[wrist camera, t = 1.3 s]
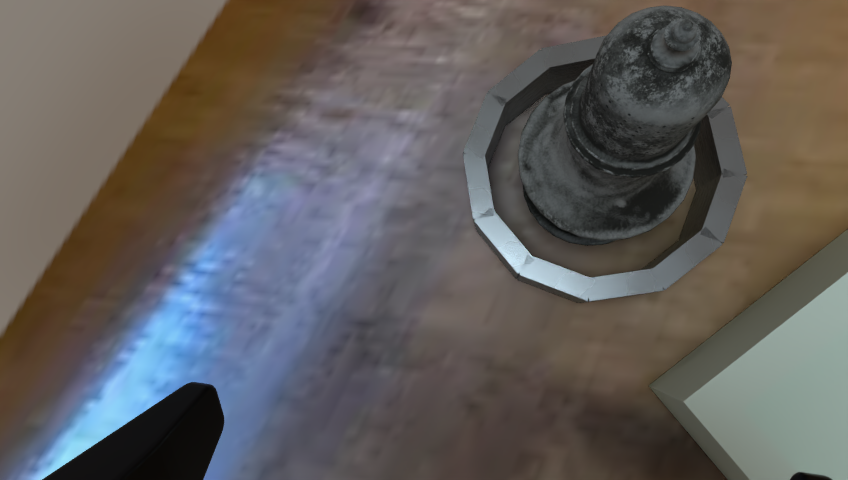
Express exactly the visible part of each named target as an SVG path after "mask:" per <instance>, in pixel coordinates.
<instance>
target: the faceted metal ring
mask: <svg viewBox="0 0 848 480" xmlns="http://www.w3.org/2000/svg"><path fill="white" fill-rule="evenodd" d="M605 37H606V36H602V37H597V38H592V39H587V40H582V41H577V42H572V43H567V44H562V45H557V46H552V47H547V48H542V50H538V51H537V52H536V53H535V54H534V55H532V56H531V57H530V58H529V59H527V60H526V61H525V62H524V63H522V64H521V65H520V66H519V67H517V68H516V69H515V70H514V71H512V72H511V73H510V74H509V75H507V76H506V77H505V78H504V79H503V80H501V81H500V82H499V83H498V84H496V85H495V86H494V87H493V88H491V89H490V90H489V91H488V92H487V94H486V97H485V99H484V102H483V104H482V107H481V109H480V112H479V114H478V117H477V119H476V122H475V124H474V127H473V129H472V132H471V134H470V137H469V139H468V142H467V144H466V147H465V149H464V152H463V157H464V164H465V170H466V176H467V183H468V189H469V196H470V202H471V208H472V215H473V220H474V224H475V227H476V230H477V232H478V233H479V235H480V236H481V237H482V238H483V239H484V241H485V242H486V243H487V244H488V246H489V247H490V248H491V249H492V250H493V252H494V253H495V254H496V255H497V256H498V258H499V259H500V260H501V261H502V263H503V264H504V265H505V266H506V267H507V269H508V270H509V271H510V272H511V273H512V275H513V276H514V277H515V278H518V279H517V280H519V281H522V282H524V283H527V284H529V285H532V286H535V287H537V288H540V289H542V290H545V291H548V292H550V293H553V294H556V295H558V296H561V297H563V298H566V299H569V300H571V301H574V302H576V303H584V302H591V301H598V300H605V299H612V298H619V297H626V296H633V295H640V294H646V293H652V292H658V291H663V290H665V289H667V288H668V287H669V286H671V285H672V284H673V283H674V282H676V281H677V280H678V279H679V278H681V277H682V276H683V275H684V274H686V273H687V272H688V271H689V270H691V269H692V268H693V267H695V266H696V265H697V264H698V263H700V262H701V261H702V260H703V259H705V258H706V257H707V256H708V255H710V254H711V253H712V252H714V251H715V250H716V249H717V248H719V247H720V246H721V245H722V243H724V241H725V238H726V235H727V232H728V229H729V226H730V224H731V221H732V218H733V215H734V212H735V209H736V206H737V204H738V201H739V198H740V195H741V192H742V189H743V186H744V184H745V181H746V178H747V176H746V175H747V171H746V167H745V163H744V159H743V155H742V151H741V147H740V142H739V138H738V134H737V130H736V126H735V122H734V118H733V114H732V110H731V107H728V106H729V104H728V103H727V102H726V101H725V100H724V99H723V98H722V97H721V99H720V100H719V101H718V102H717V104H716V105H715V106H714V107H713V108H712V109H711V111H710V112H709V113H708V114H707V115H706V116H705V117H704V118H703V119H702V121H701V128H700V132H699V135H698V137H697V139H696V141H695V143H694V147H695V154H696V161H695V168H694V180H695V185H696V189H697V190H696V193H695V196H694V199H693V201H692V204H691V207H690V210H689V213H688V215H687V218H686V221H685V224H684V226H683V229H682V232H681V235H680V238H679V240H678V241H677V242H676V243H674V244H673V245H672V246H671V247H669V248H668V249H667V250H665V251H664V252H663V253H662V254H660V255H659V256H658V257H657V258H655V259H654V260H653V261H652V262H650V263H649V264H648V265H647V266H645V267H644V268H643V269H641V270H639V271H632V272H626V273H619V274H612V275H605V276H599V277H592V278H590V277H587V276H584V275H582V274H579V273H576V272H574V271H571V270H568V269H566V268H563V267H560V266H558V265H555V264H552V263H550V262H547V261H544V260H542V259H539V258H536V257H534V256H532V255H531V254H530V253H529V252H528V250H527V249H526V248H525V247H524V246H523V245H522V243H521V242H520V241H519V240H518V239H517V237H516V236H515V235H514V234H513V233H512V231H511V230H510V229H509V228H508V227H507V225H506V224H505V223H504V222H503V221H502V220H501V218H500V217H499V216H498V215H497V214H496V212H495V211H494V207H493V201H492V195H491V189H490V183H489V177H488V168H489V166H490V163H491V160H492V158H493V155H494V153H495V150H496V148H497V145H498V143H499V140H500V138H501V135H502V133H503V130H504V127H505V126H506V125H507V124H508V123H510V122H511V121H512V120H513V119H515V118H516V117H517V116H518V115H520V114H521V113H522V112H523V111H525V110H526V109H527V108H528V107H530V106H531V105H532V104H533V103H535V102H536V101H537V100H538V99H540V98H541V97H542V96H543V95H544V94H548V93H552V92H554V91H555V90H556V89H558V88H559V87H561V86H562V85H564V84H567V83H569V82H572V81H575V80H576V79H577V78H578V76H579V75H580V74H581V73H582V72H583V71H584V70H585V69H586V68H588V67H589V66H591V65H592V64H593V63H594V60H595V57H596V55H597V52H598V50H599V48H600V46H601V44H602V42H603V40H604V38H605Z"/></svg>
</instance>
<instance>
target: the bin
mask: <svg viewBox="0 0 848 480" xmlns="http://www.w3.org/2000/svg"><path fill="white" fill-rule="evenodd" d="M649 387H650V388H651V389H652V391H653V392H654V393H655V394H656V395H657V397H658V398H659V399H660V400H661V401H662V402H663V404H664V405H665V406H666V407H667V408H668V410H669V411H670V412H671V413H672V414H673V416H674V417H675V418H676V419H677V420H678V421H679V423H680V424H681V425H682V426H683V427H684V429H685V430H686V431H687V432H688V433H689V434H690V436H691V437H692V438H693V439H694V440H695V442H696V443H697V444H698V445H699V446H700V448H701V449H702V450H703V451H704V452H705V453H706V455H707V456H708V457H709V458H710V459H711V461H712V462H713V463H714V464H715V465H716V466H717V468H718V469H719V470H720V471H721V472H722V474H723V475H724V476H725V477H726V478H727V480H790V479H791V477H792V476H793V474H795V473H797V472H805V473H812V474H819V475H824V476H827V477H829V478H831V479H832V480H848V229H847V230H846V231H845V232H843V233H842V234H841V235H840V236H838V237H837V238H836V239H834V240H833V241H832V242H831V243H829V244H828V245H827V246H826V247H824V248H823V249H822V250H820V251H819V252H818V253H817V254H815V255H814V256H813V257H812V258H810V259H809V260H808V261H806V262H805V263H804V264H803V265H801V266H800V267H799V268H798V269H796V270H795V271H794V272H793V273H791V274H790V275H789V276H787V277H786V278H785V279H784V280H782V281H781V282H780V283H779V284H777V285H776V286H775V287H773V288H772V289H771V290H770V291H768V292H767V293H766V294H765V295H763V296H762V297H761V298H759V299H758V300H757V301H756V302H754V303H753V304H752V305H751V306H749V307H748V308H747V309H745V310H744V311H743V312H742V313H740V314H739V315H738V316H737V317H735V318H734V319H733V320H732V321H730V322H729V323H728V324H726V325H725V326H724V327H723V328H721V329H720V330H719V331H718V332H716V333H715V334H714V335H712V336H711V337H710V338H709V339H707V340H706V341H705V342H704V343H702V344H701V345H700V346H698V347H697V348H696V349H695V350H693V351H692V352H691V353H690V354H688V355H687V356H686V357H685V358H683V359H682V360H681V361H679V362H678V363H677V364H676V365H674V366H673V367H672V368H671V369H669V370H668V371H667V372H665V373H664V374H663V375H662V376H660V377H659V378H658V379H657V380H655V381H654V382H653V383H651V384H650V385H649Z"/></svg>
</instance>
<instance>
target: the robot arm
mask: <svg viewBox="0 0 848 480" xmlns="http://www.w3.org/2000/svg"><path fill="white" fill-rule="evenodd" d="M223 427H224V415H223V411H222V408H221V404H220V401H219V397H218V394H217V391H216V388H215V387H214V386H213V385H210V384H204V383H197V382H191V383H188V384H186V385H184V386H182V387H181V388H179V389H178V390H176V391H175V392H173V393H172V394H170V395H169V396H167V397H166V398H164V399H163V400H161V401H160V402H158V403H157V404H155V405H154V406H152V407H151V408H149V409H148V410H146V411H145V412H143V413H142V414H140V415H139V416H137V417H136V418H134V419H133V420H131V421H130V422H128V423H127V424H125V425H124V426H122V427H121V428H119V429H118V430H116V431H115V432H113V433H112V434H110V435H109V436H107V437H106V438H104V439H103V440H101V441H100V442H98V443H97V444H95V445H94V446H92V447H91V448H89V449H88V450H86V451H85V452H83V453H82V454H80V455H79V456H77V457H75V458H74V459H72V460H71V461H69V462H68V463H66V464H65V465H63V466H62V467H60V468H59V469H57V470H56V471H54V472H53V473H51V474H50V475H48V476H47V477H45V478H44V479H42V480H203V479H204V476H205V474H206V471H207V469H208V466H209V464H210V461H211V459H212V456H213V454H214V451H215V448H216V446H217V443H218V441H219V438H220V436H221V433H222V431H223ZM790 480H832V479H831V478H829V477H827V476H824V475H819V474H812V473H805V472H797V473H795V474H793V476H792V477H791V479H790Z"/></svg>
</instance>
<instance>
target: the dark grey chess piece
mask: <svg viewBox="0 0 848 480" xmlns="http://www.w3.org/2000/svg"><path fill="white" fill-rule="evenodd" d="M731 64H732V61H731V56H730V50H729V46H728V44H727V42H726V40H725V38H724V37H723V35H722V33H721V32H720V31H719V30H718V29H717V28H716V27H715V25H714V24H713V23H712V22H711V21H709V20H708V19H706V18H704V17H703V16H701V15H700V14H698V13H696V12H693V11H690V10H687V9H684V8H682V7H672V6H658V7H650V8H646V9H643V10H640V11H638V12H635V13H632V14H631V15H629V16H628V17H626V18H625V19H623V20H622V21H620V22H619V23H618V24H617V25H616V26H615V27H614V28H613V29H612V30H611V32H610V33H609V34H608V35H607V36H606V37H605V38H604V40H603V42H602V44H601V46H600V48H599V50H598V52H597V55H596V57H595V60H594V63H593V64H592V65H591V66H589V67H588V68H586V69H585V70H584V71H583V72H582V73H581V74H580V75H579V76H578V78H577V79H576V80H575V81H572V82H569V83H567V84H564V85H562V86H561V87H559V88H558V89H556V90H555V91H554V92H552V93H551V94H549V95H548V96H546V97H545V98H544V99H543V100H542V102H541V103H540V104H539V105H538V106H537V107H536V109H535V110H534V111H533V112H532V113H531V115H530V117H529V119H528V121H527V123H526V125H525V127H524V129H523V131H522V134H521V140H520V146H519V151H518V161H519V171H520V177H521V180H522V182H523V189H524V197H525V199H526V202H527V204H528V207H529V210H530V212H531V213H532V214H533V216H534V217H535V218H536V220H537V221H538V223H539V224H540V225H541V226H542V227H544V228H545V229H546V230H547V231H549V232H550V233H551V234H552V235H554V236H556V237H558V238H560V239H563V240H565V241H567V242H569V243H575V244H581V245H587V246H588V245H600V244H607V243H609V242H612V241H615V240H618V239H627V238H630V237H633V236H636V235H639V234H642V233H644V232H647V231H650V230H651V229H652V228H654V227H655V226H657V225H658V224H660V223H661V222H663V221H664V220H666V219H667V218H669V217H670V215H671V214H672V213H673V212H674V211H675V210H676V208H677V207H678V206H679V205H680V204H681V202H682V201H683V200H684V198H685V196H686V194H687V191H688V189H689V187H690V185H691V183H692V180H693V176H694V168H695V161H696V154H695V147H694V143H695V141H696V139H697V137H698V135H699V132H700V128H701V121H702V119H703V118H704V117H705V116H706V115H707V114H708V113H709V112H710V111H711V109H712V108H713V107H714V106H715V105H716V104H717V102H718V101H719V100H720V99H721V97H722V95H723V93H724V90H725V88H726V86H727V84H728V81H729V78H730V72H731Z"/></svg>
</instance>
